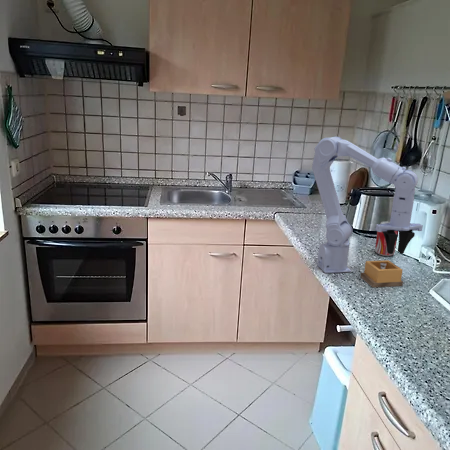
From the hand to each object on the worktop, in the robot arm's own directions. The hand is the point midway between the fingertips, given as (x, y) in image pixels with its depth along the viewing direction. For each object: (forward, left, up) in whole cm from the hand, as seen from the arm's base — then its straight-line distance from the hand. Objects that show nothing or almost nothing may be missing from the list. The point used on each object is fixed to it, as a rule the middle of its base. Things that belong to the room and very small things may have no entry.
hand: (395, 253), depth 130 cm
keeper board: (-3, 0, -10) cm, 10 cm away
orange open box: (-3, 0, -8) cm, 9 cm away
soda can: (+12, +24, -10) cm, 28 cm away
